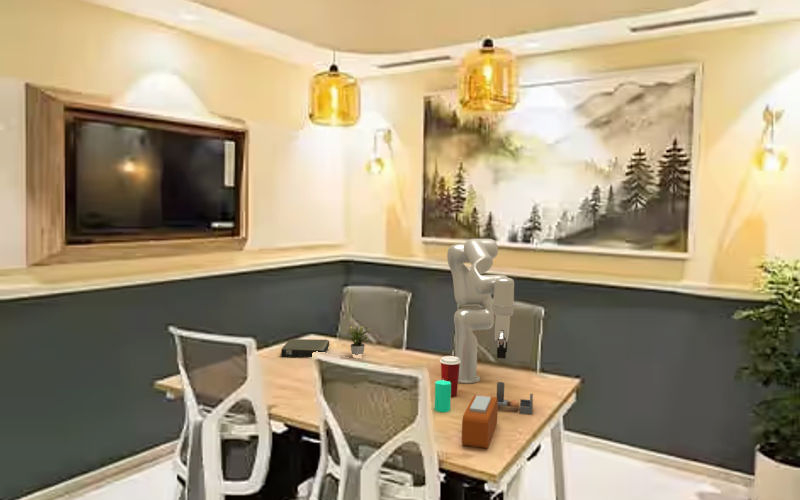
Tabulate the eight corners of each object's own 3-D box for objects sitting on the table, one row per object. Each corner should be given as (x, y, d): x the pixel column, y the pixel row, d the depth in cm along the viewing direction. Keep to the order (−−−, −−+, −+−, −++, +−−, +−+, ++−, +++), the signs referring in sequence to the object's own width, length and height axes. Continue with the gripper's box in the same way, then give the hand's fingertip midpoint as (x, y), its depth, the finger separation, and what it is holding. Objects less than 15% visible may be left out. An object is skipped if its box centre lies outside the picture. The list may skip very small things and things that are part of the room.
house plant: (371, 362, 291) (371, 328, 290) (342, 361, 291) (343, 328, 290) (373, 354, 305) (373, 322, 304) (345, 353, 306) (346, 322, 304)
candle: (445, 413, 224) (446, 381, 223) (431, 410, 227) (432, 379, 226) (453, 408, 229) (453, 377, 228) (439, 405, 232) (439, 375, 231)
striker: (492, 408, 229) (493, 384, 229) (493, 404, 234) (494, 380, 233) (506, 409, 228) (507, 385, 227) (506, 405, 233) (507, 381, 232)
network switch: (284, 347, 317) (284, 338, 317) (329, 347, 320) (329, 338, 319) (280, 360, 294) (280, 349, 293) (328, 359, 296) (329, 349, 296)
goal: (519, 413, 225) (519, 400, 224) (520, 405, 234) (520, 392, 233) (532, 414, 224) (532, 401, 223) (532, 406, 233) (532, 393, 232)
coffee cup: (461, 392, 248) (462, 356, 246) (456, 398, 240) (457, 361, 239) (442, 390, 251) (442, 354, 249) (436, 396, 243) (437, 359, 241)
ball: (509, 409, 228) (510, 401, 228) (510, 406, 232) (510, 398, 231) (518, 410, 228) (519, 402, 227) (519, 407, 231) (519, 399, 231)
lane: (472, 408, 230) (472, 404, 229) (474, 401, 237) (474, 397, 237) (518, 412, 226) (518, 408, 226) (518, 405, 233) (519, 401, 233)
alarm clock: (473, 420, 217) (474, 390, 216) (497, 423, 215) (498, 392, 214) (461, 447, 194) (462, 412, 193) (487, 450, 192) (488, 415, 191)
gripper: (494, 306, 237) (493, 348, 238) (491, 314, 220) (490, 360, 222) (514, 307, 235) (512, 350, 237) (512, 315, 219) (511, 361, 220)
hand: (501, 354), depth 229 cm, fingers open, 9 cm apart
